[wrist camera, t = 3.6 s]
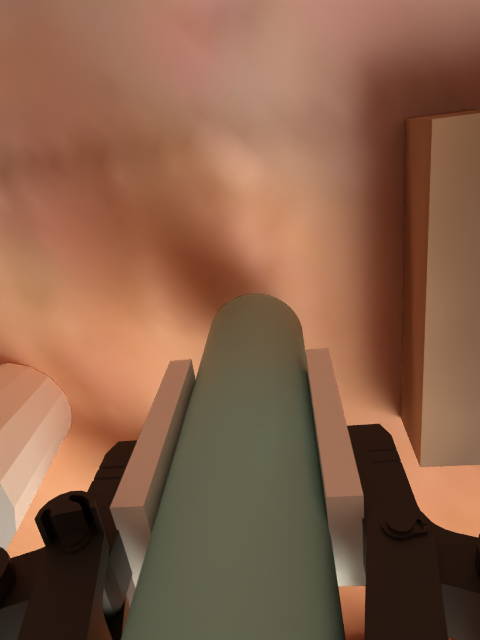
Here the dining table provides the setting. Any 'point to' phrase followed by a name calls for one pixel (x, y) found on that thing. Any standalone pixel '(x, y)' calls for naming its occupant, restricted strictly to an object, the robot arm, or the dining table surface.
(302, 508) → the long dowel
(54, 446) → the shot glass
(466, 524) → the dining table surface
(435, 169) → the hole block
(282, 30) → the dining table surface
